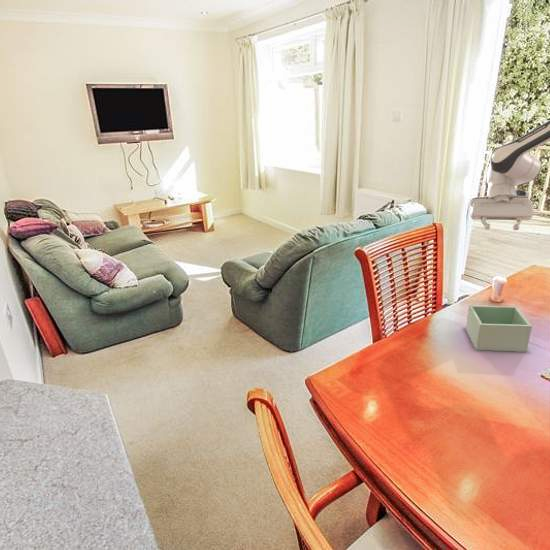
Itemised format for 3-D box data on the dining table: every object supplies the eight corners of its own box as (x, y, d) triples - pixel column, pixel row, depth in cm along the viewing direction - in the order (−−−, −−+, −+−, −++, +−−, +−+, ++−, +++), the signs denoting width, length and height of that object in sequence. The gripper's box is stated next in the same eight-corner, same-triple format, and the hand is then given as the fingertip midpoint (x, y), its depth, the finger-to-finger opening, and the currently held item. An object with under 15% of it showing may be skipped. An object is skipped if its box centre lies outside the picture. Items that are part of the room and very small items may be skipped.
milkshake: (504, 304, 134) (508, 279, 130) (487, 300, 137) (491, 276, 133) (507, 299, 137) (512, 275, 133) (491, 296, 140) (495, 271, 136)
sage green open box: (511, 330, 120) (516, 306, 116) (526, 351, 109) (532, 326, 106) (465, 328, 122) (469, 305, 119) (475, 349, 112) (479, 324, 109)
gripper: (472, 192, 143) (471, 224, 139) (534, 192, 136) (536, 225, 132) (468, 201, 149) (468, 232, 144) (528, 201, 142) (530, 233, 138)
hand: (501, 229), depth 138 cm, fingers open, 8 cm apart
